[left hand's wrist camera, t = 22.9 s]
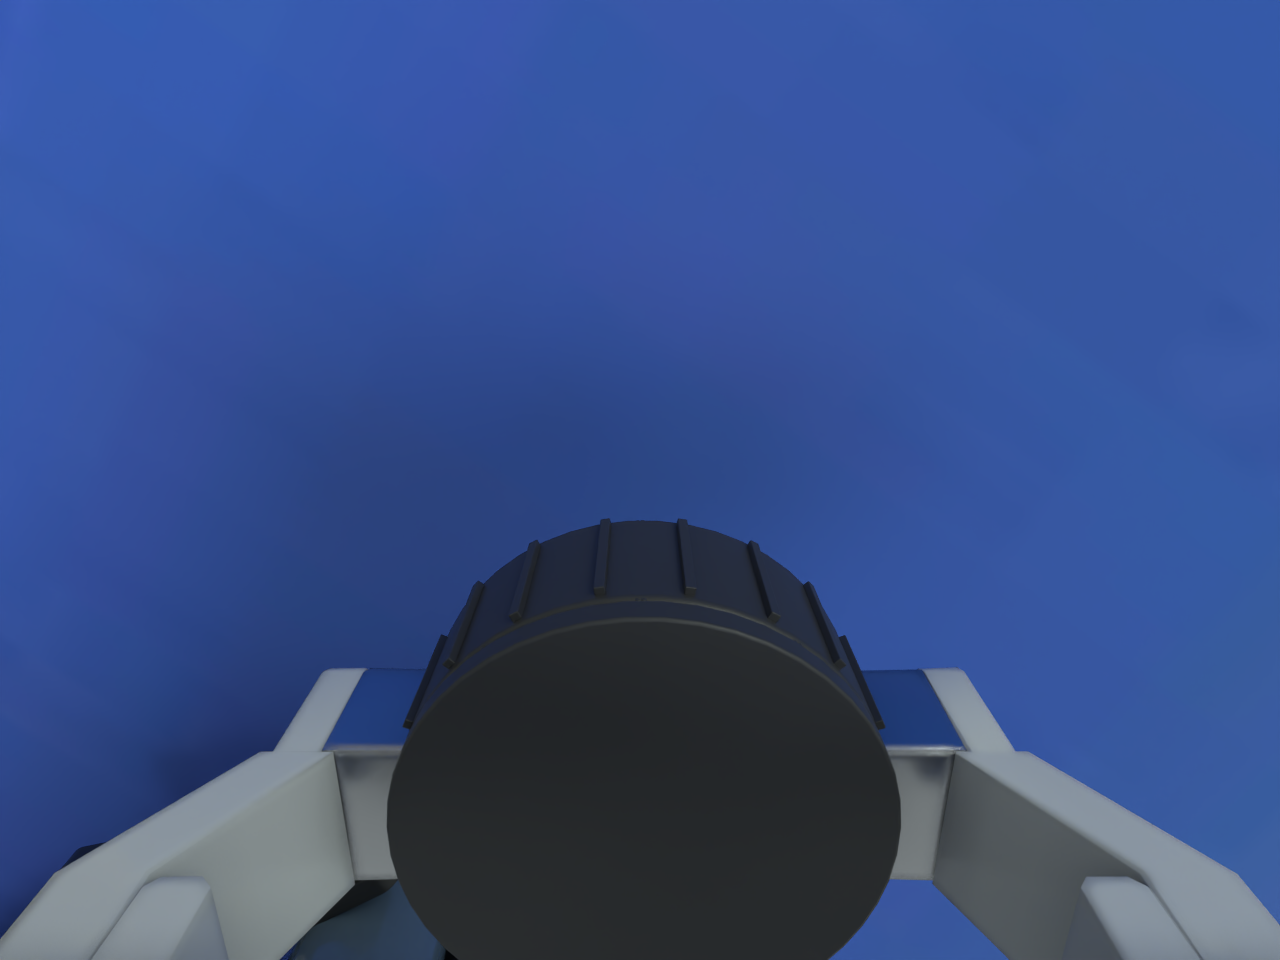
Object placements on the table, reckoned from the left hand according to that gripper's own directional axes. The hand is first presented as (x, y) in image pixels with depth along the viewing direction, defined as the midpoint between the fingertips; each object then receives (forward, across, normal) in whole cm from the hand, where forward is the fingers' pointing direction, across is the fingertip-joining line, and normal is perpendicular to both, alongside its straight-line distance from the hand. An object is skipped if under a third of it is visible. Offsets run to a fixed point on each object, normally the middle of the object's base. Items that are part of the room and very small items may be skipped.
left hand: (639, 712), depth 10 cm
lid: (-2, 0, 0) cm, 2 cm away
